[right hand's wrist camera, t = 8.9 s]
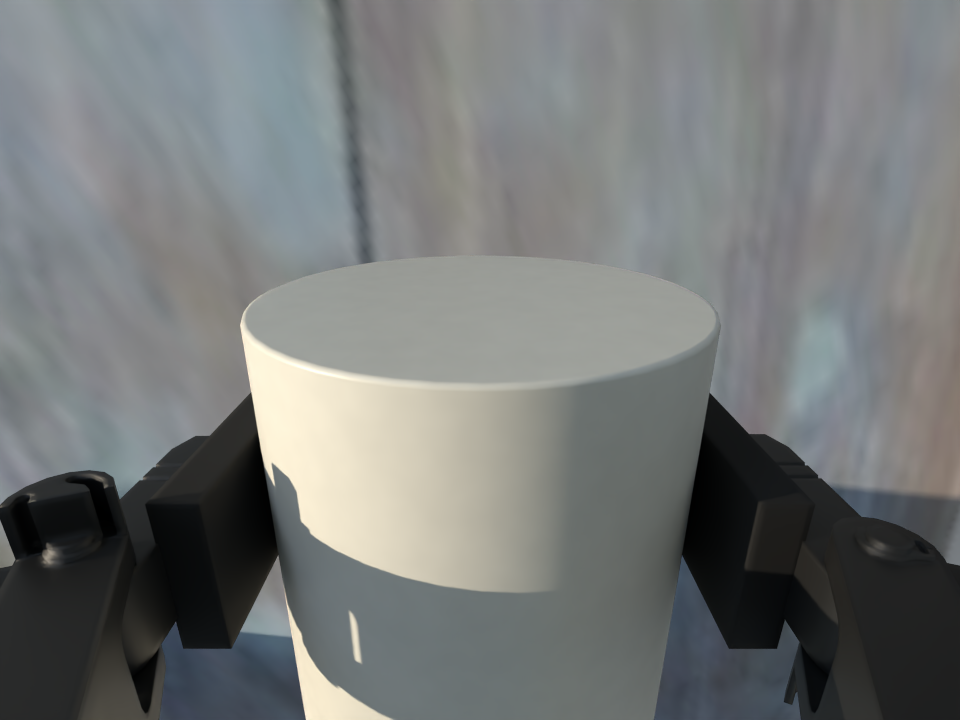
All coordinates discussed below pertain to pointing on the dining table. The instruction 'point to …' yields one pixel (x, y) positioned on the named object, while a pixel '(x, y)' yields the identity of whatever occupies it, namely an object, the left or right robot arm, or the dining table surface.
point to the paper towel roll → (480, 481)
